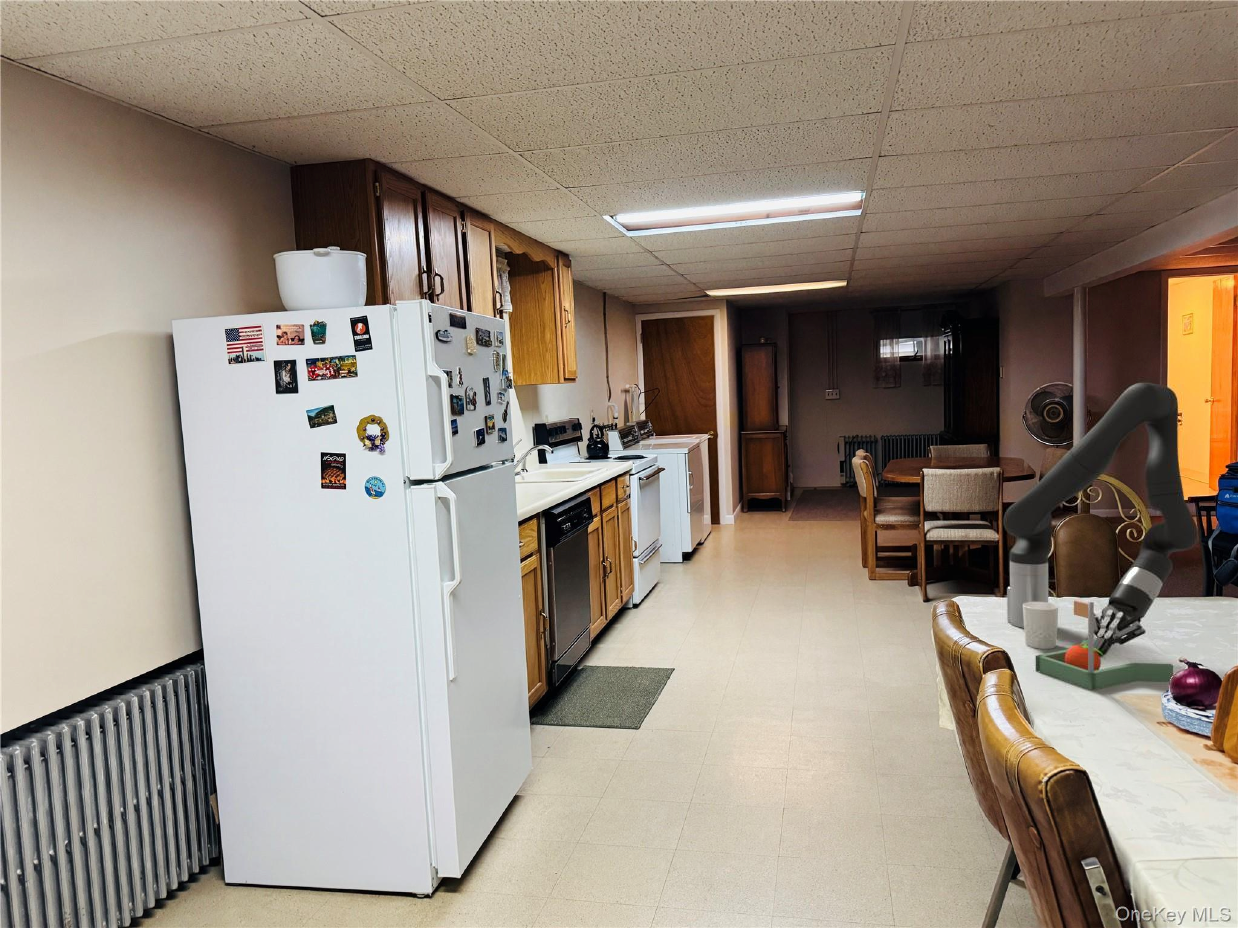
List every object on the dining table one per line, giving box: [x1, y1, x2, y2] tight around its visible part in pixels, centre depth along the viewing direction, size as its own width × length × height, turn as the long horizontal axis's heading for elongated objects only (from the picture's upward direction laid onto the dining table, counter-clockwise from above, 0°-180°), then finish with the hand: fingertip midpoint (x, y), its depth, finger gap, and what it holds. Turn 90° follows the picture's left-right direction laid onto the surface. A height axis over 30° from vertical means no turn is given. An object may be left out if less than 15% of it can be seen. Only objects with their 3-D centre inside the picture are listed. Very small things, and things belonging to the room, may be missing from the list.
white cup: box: [1023, 602, 1059, 650], centre depth 207 cm, size 8×8×10 cm
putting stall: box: [1035, 600, 1174, 691], centre depth 185 cm, size 22×20×18 cm
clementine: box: [1065, 644, 1106, 671], centre depth 183 cm, size 8×7×7 cm
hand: (1096, 654), depth 185 cm, fingers closed
